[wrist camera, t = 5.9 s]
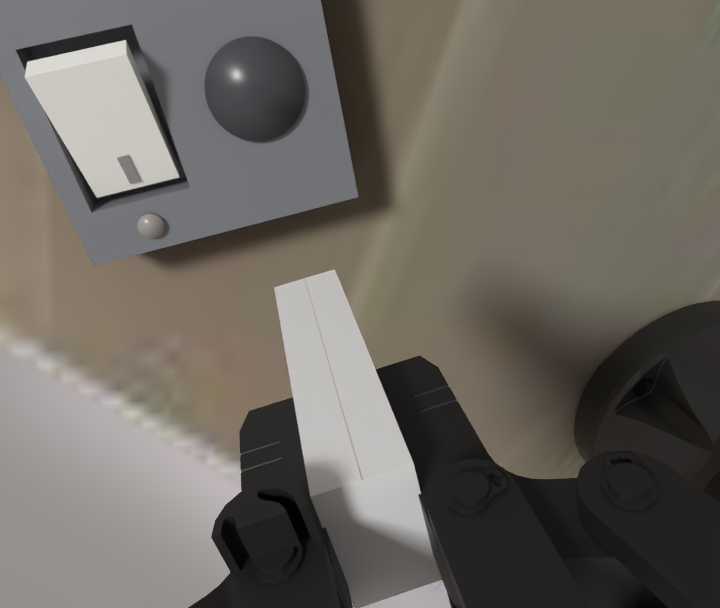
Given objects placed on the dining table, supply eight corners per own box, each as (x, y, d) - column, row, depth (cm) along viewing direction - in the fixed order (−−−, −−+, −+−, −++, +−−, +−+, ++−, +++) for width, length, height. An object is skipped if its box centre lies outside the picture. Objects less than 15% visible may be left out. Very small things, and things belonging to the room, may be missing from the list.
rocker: (177, 161, 23) (179, 178, 22) (97, 181, 22) (96, 199, 22) (126, 40, 19) (126, 55, 18) (27, 62, 18) (24, 78, 18)
